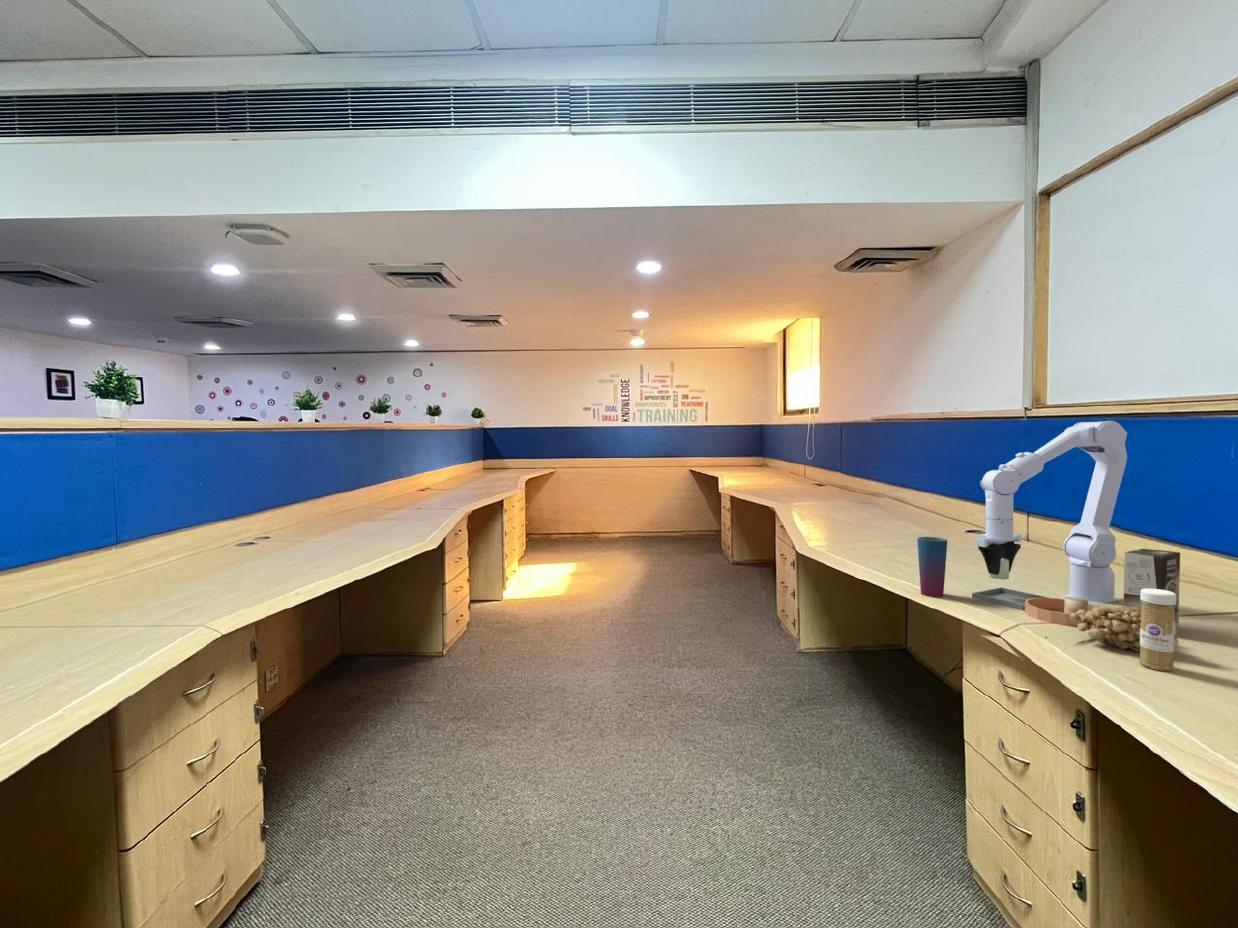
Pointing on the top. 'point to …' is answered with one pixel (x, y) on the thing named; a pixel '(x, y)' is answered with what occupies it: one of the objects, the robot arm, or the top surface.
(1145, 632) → the sprinkles bottle
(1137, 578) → the coffee box
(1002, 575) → the mint green rounded cylinder
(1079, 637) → the top surface
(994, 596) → the tray
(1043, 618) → the bowl
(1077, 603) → the beige rounded cylinder
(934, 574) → the cup
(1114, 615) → the mineral formation
